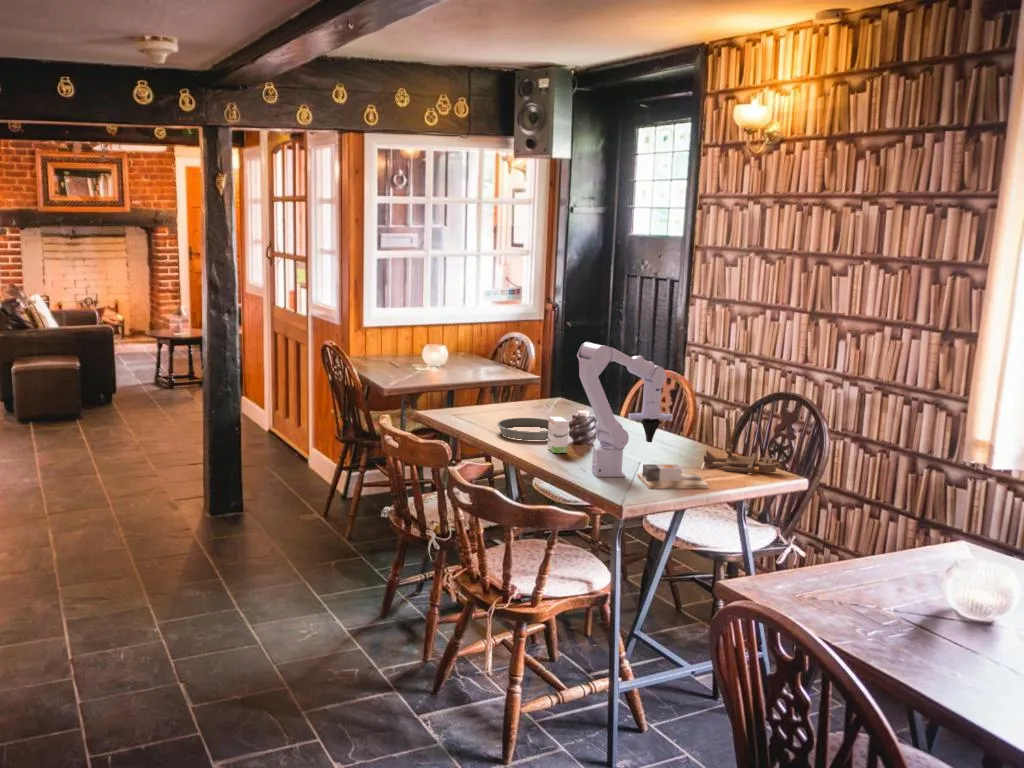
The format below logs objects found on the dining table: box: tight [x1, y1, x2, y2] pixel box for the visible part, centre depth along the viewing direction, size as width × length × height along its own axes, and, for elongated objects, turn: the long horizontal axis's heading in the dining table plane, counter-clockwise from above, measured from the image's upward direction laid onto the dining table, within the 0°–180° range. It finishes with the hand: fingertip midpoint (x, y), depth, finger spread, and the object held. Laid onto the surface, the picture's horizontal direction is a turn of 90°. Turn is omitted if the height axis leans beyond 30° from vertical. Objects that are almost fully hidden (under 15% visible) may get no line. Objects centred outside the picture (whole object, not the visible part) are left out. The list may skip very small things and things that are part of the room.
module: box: [656, 464, 683, 481], centre depth 299 cm, size 7×5×4 cm
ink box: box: [547, 416, 569, 454], centre depth 334 cm, size 9×5×12 cm, turn 15°
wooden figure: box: [700, 417, 782, 475], centre depth 316 cm, size 14×18×25 cm
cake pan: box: [496, 417, 549, 440], centre depth 358 cm, size 25×25×4 cm
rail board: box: [637, 463, 709, 489], centre depth 299 cm, size 19×13×5 cm
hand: (649, 441), depth 313 cm, fingers closed
